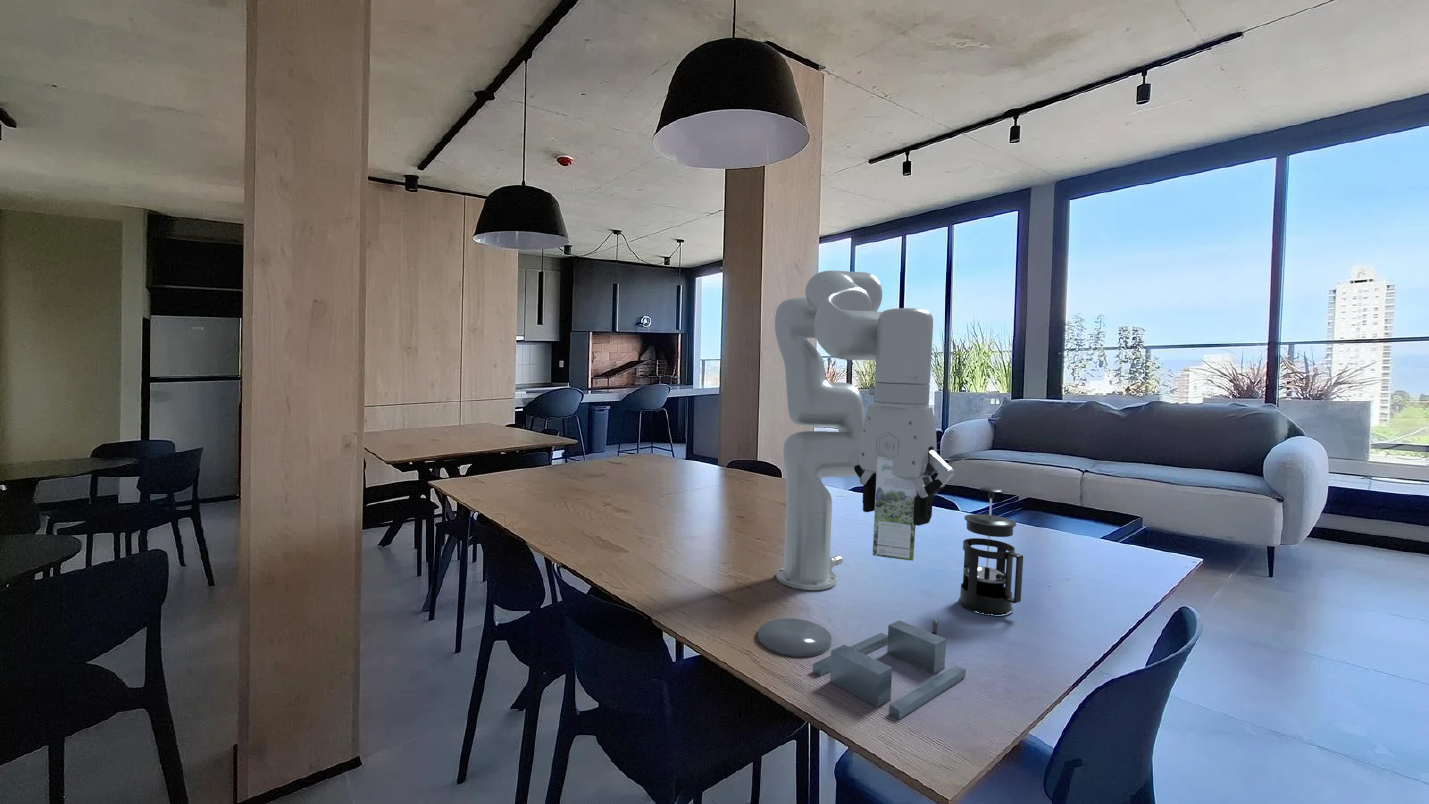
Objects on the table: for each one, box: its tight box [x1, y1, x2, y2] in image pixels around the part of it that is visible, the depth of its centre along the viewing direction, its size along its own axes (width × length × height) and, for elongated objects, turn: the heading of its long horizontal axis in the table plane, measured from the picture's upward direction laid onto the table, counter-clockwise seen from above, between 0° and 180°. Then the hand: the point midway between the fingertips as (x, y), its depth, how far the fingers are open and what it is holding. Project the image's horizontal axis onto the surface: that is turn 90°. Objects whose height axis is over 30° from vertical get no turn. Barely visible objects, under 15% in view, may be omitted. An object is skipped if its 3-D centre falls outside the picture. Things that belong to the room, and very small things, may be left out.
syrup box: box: [872, 456, 918, 561], centre depth 83 cm, size 6×6×14 cm
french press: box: [958, 486, 1024, 615], centre depth 110 cm, size 12×9×23 cm
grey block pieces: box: [812, 619, 967, 720], centre depth 86 cm, size 21×14×5 cm
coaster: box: [757, 617, 832, 658], centre depth 95 cm, size 12×12×1 cm
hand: (895, 516), depth 84 cm, fingers closed on syrup box, 7 cm apart
